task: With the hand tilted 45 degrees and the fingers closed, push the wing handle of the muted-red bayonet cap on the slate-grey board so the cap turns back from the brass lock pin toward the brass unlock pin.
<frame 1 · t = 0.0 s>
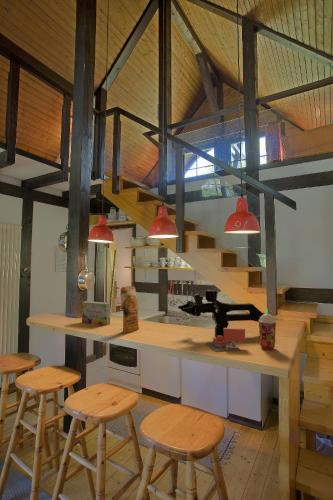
hand: (179, 308, 159), 17 cm above the counter, tool horizontal, fingers open, 9 cm apart
cap: (228, 335, 140), point 6 cm above the counter, hinge at 0.0°
post: (219, 346, 141), on the counter
smoothie: (267, 348, 139), on the counter
pancake mix bag: (129, 331, 175), on the counter
snack box: (95, 323, 195), on the counter
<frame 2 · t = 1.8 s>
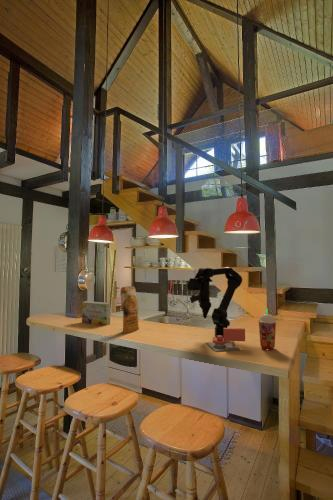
hand: (204, 317, 157), 12 cm above the counter, tool pointing down, fingers open, 5 cm apart
nothing on the counter moved.
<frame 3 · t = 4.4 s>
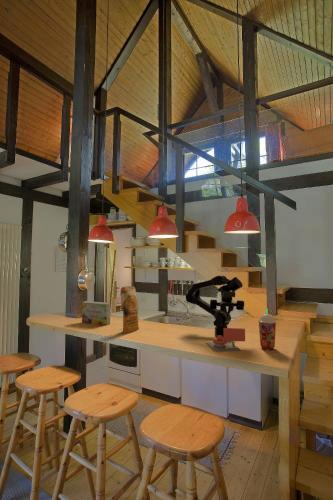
hand: (227, 317, 149), 13 cm above the counter, tool tilted 45°, fingers closed
nothing on the counter moved.
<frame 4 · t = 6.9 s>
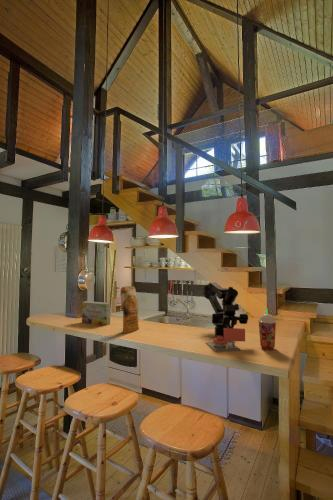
hand: (231, 332, 141), 7 cm above the counter, tool tilted 45°, fingers closed, pressing on cap
cap: (228, 335, 140), point 6 cm above the counter, hinge at -0.7°, touching gripper
everything else where it was.
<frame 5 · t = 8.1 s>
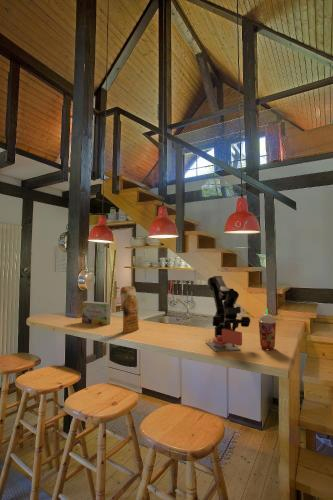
hand: (232, 336, 137), 7 cm above the counter, tool tilted 45°, fingers closed
cap: (227, 337, 138), point 6 cm above the counter, hinge at -40.9°, touching gripper
everything else where it was.
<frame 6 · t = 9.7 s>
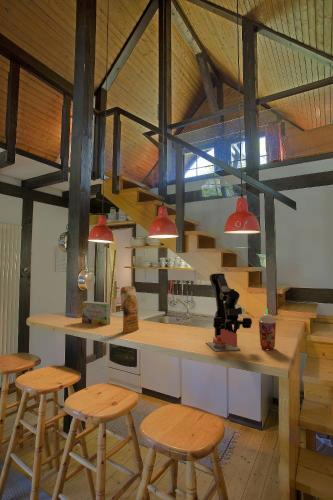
hand: (234, 338, 133), 7 cm above the counter, tool tilted 45°, fingers closed
cap: (225, 337, 137), point 6 cm above the counter, hinge at -58.2°, touching gripper
everything else where it was.
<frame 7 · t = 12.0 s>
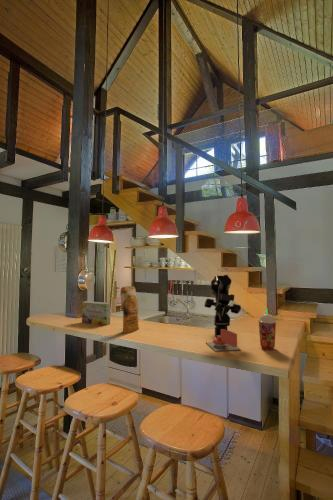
hand: (221, 320, 144), 13 cm above the counter, tool tilted 35°, fingers closed
cap: (225, 337, 137), point 6 cm above the counter, hinge at -58.4°
everything else where it was.
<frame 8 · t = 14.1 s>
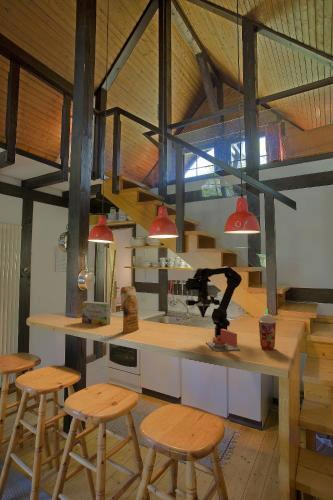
hand: (202, 317, 156), 12 cm above the counter, tool pointing down, fingers closed
nothing on the counter moved.
at the end: cap at -58° (first picture: +0°) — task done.
